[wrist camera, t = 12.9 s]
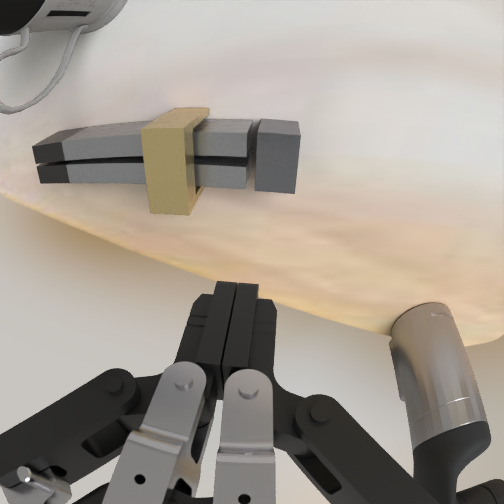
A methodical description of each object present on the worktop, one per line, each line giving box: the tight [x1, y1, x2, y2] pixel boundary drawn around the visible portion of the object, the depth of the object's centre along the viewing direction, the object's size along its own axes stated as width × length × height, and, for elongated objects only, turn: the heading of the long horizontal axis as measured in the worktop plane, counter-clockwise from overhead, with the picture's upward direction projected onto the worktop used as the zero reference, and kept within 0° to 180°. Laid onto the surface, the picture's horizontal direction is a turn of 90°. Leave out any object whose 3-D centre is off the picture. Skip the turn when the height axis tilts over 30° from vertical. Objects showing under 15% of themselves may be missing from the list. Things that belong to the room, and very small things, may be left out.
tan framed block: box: [141, 108, 209, 215], centre depth 23 cm, size 3×6×7 cm, turn 178°
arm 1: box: [32, 119, 253, 164], centre depth 23 cm, size 20×2×4 cm, turn 89°
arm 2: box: [37, 149, 252, 189], centre depth 25 cm, size 20×2×4 cm, turn 87°
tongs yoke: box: [255, 119, 301, 194], centre depth 23 cm, size 3×5×5 cm, turn 178°
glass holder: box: [0, 0, 127, 114], centre depth 12 cm, size 9×14×15 cm, turn 7°
